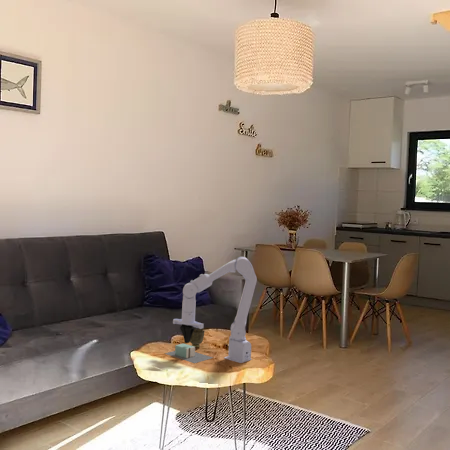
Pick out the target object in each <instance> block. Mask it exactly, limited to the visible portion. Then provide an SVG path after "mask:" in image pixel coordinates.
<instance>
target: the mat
mask: <svg viewBox="0 0 450 450" xmlns="http://www.w3.org/2000/svg"><path fill="white" fill-rule="evenodd" d="M164 354H165V355H168V356H171V357H174V358H176V359H180V360H182V361H186V362H189V363H192V364H198V363H201V362H204V361H208V360H211V359H214V357H213V356H211V355H210V356H209V355H206V354H203V353H200V352H196V351H195V356H193V357H189V358H184V357H181V356H178V355H175V350H172V351H168V352H165V353H164Z"/></svg>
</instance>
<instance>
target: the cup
mask: <svg viewBox="0 0 450 450" xmlns="http://www.w3.org/2000/svg"><path fill="white" fill-rule="evenodd" d="M205 332H206V331H205V329H204V328H202V329H199V328H195V330H194V332H193V334H192V336H191V339H190V342H189V343H190V344H191V346H194V347H195V348H200V346H201V344H202V343H203V342H204V336H205Z"/></svg>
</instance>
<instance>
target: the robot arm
mask: <svg viewBox="0 0 450 450" xmlns="http://www.w3.org/2000/svg"><path fill="white" fill-rule="evenodd" d="M236 272H237V273H239V275H241V276H242V277H243V279H244V286H243V289H242V292H241V293H242V294H241V298H240V301H239V304H238V307H237V311H236V316H235V317H234V320H233V322H232V323H231V325H230V335H229V337H228V356H225V357H223V358H224V359H226V360H229V361H232V362H236V363H239V364H242V363H245V362H248V361H251V360H253V359H252V343H251V342H250V341H248V340H247V337H246V334H247V332H246V326H247V319H248V316H249V312H250V308H251V304H252V300H253V297H254V292H255V290H256V289H255V288H256V286H257V282H258V278H257V275H256V272H255V269H254V267H253V265H252V263H251V261H250V260H249V258H247V257H245V256H238V257H236V258H235V259H232V260H230V261H229V262H227V263H225V264H224V265H222V266H220V267H219V268H216V269H215V270H214V271H213V272H211V273H209V274H208V273H204V274H203V273H201V274H199V276H198V277H197V278H195V279H194V280H193V279H191V280H190V282H188V283H186V284H184V286H183V288H182V304H181V305H182V308H181V318H173V320H172V324H173V325H175V324H176V325H180V326H179V329H180V331H181V333H182V335H183V340H184V344H188V343H191V342H190V339H191V336H192V334H193V332H194V330H195V329H204V328H205V327H204V324H205V323H201V322H198V321H196V302H197V300H196V295H197V293H201V292H202V291H204V290H206V289H208V288H209V287H211V286H212V285H213V282H214V281H215V280H217V279H220V278H221V277H222V276H224V275H226V274H228V273H234V274H235V273H236Z"/></svg>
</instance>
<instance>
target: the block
mask: <svg viewBox="0 0 450 450" xmlns="http://www.w3.org/2000/svg"><path fill="white" fill-rule="evenodd" d="M174 347H175V350H174V351H175V355H178V356H181V357H184V358H189V357H193V356H195V352H196V347H194V346H192V344H191V345H190V344H188V343H185V342H184V343H179V344H175V346H174Z"/></svg>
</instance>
